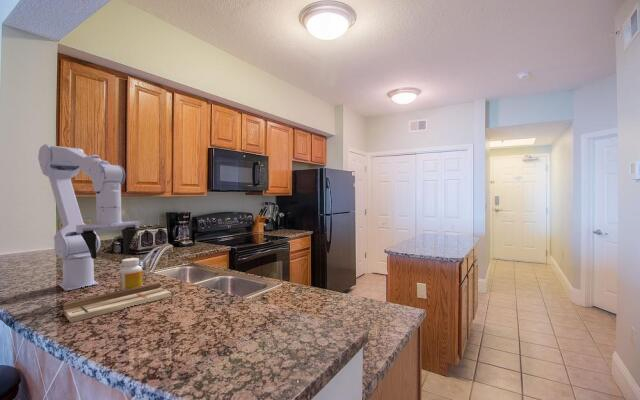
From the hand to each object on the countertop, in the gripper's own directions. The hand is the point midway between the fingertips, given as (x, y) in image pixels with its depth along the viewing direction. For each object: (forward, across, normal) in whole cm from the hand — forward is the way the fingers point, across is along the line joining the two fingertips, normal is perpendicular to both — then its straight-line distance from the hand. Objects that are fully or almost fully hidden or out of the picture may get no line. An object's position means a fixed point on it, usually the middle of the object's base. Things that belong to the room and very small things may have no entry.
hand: (110, 255), depth 85 cm
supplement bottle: (+11, +3, -6) cm, 13 cm away
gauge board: (+10, -2, -13) cm, 17 cm away
